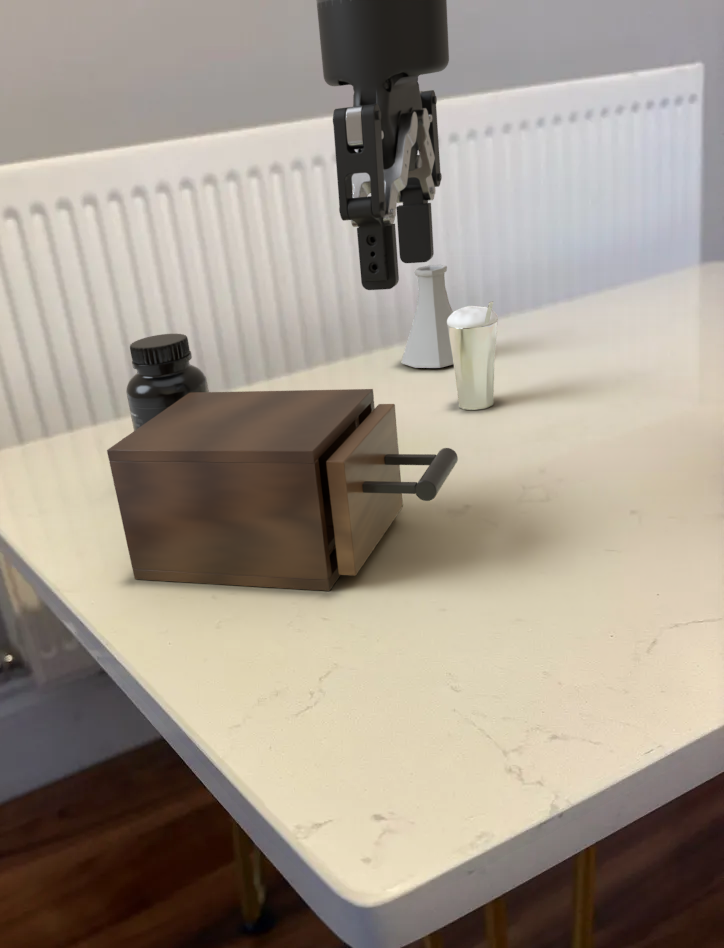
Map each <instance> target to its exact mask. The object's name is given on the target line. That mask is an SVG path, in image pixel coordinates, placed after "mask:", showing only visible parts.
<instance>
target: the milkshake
mask: <svg viewBox="0 0 724 948" xmlns="http://www.w3.org/2000/svg"><path fill="white" fill-rule="evenodd" d="M493 306H494V301H489V302H488V304H487V306H479V305H467V306H463V307H460V308H459V309H455V310H454V311H453V313H452V314H451V315H450V316H449V317H448V319H447V325H448V332H449V338H450V344H451V350H452V356H453V363H454V364H453V371H454V378H455V386H456V387H455V388H456V393H457V402H458V408H460V409H463V410H466V411H478V410H484V409H488V408H489V407H492V406H493V405H494V395H495V394H494V391H495V389H494V388H495V363H496V349H497V337H498V321H499V316H498V314H497V312H495V311H494V310H493Z"/></svg>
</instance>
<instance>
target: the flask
mask: <svg viewBox="0 0 724 948" xmlns="http://www.w3.org/2000/svg"><path fill="white" fill-rule="evenodd" d="M447 270H448V266H447V265H444V264H428V265H423V266H420V267H417V268H415V269H414V275H415V276H417V284H418V285H417V286H418V287H417V288H418V291H417V298H416V299H417V300H416V308H415V311H414V315H413V320H412V323H411V327H410V331H409V334H408V337H407V341H406V344H405V348H404V351H403V354H402V358H401V362H400V364H403V365H406V366H409V367H411V368H415V369H418V368H421V369H422V368H423V369H425V368H426V369H441V368H444V367H448V366H449V367H450V366H453V365H454V363H453V356H452V350H451V344H450V338H449V332H448V325H447V319H448V317H449V316H450V315H451V314H452V313H453V312H454V311H453V309H452V306H451V304H450V301H449V296H448V291H447V288H446V279H445V273H446V272H447Z"/></svg>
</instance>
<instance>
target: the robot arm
mask: <svg viewBox="0 0 724 948" xmlns="http://www.w3.org/2000/svg"><path fill="white" fill-rule="evenodd" d="M447 5H448V4H447V0H316V9H317V11H316V12H317V21H318V31H319V40H320V41H319V42H320V43H319V44H320V54H321V63H322V64H321V65H322V74H323V80H324V82H325V84H327V85H328V86H330V87H341V86H348V85H350V86H352V89H353V95H352V96H353V97H352V100H353V101H352V106H349V107H339V108H335V109H334V110H333V115H332V125H333V136H334V137H333V139H334V151H335V165H336V178H337V193H338V194H337V195H338V212H339V215H340V219H341V220H342V221H350V222H351V226H352V227H353V228H356V234H357V246H358V257H359V258H358V259H359V271H360V281H361V286H362V287H363V289H364V290H367V291H381V290H391V289H393V288H394V287H396V286H397V285H398V283H399V281H400V277H399V276H400V274H399V261H398V259H400V261H401V262H402V263H404V264H419V263H421V264H422V263H427V262H429V261H430V260H431V259H432V258H433V257H434V255H435V254H434V235H433V234H434V233H433V217H432V202H430V201H434V199H435V195H436V191H437V190H436V188H439V187H440V186H441V181H442V177H443V176H442V173H441V159H440V157H441V156H440V144H439V129H438V128H439V127H438V126H439V125H438V112H437V103H438V99H437V95H436V92H435V89H431V90H421V89H420V84H419V82H418V81H419V76H422V75H429V74H434V73H440V72H442V71H444V70H445V69H446V68H447V67H448V66H449V63H450V51H449V28H448V25H449V24H448V6H447ZM369 195H370V196H369ZM398 204H401V205H398ZM397 205H398V206H397ZM395 219H396V223H397V230H396V223H395ZM396 231H397V232H396ZM397 237H398V245H397ZM397 246H398V247H397ZM398 250H399V251H398ZM398 253H399V258H398Z"/></svg>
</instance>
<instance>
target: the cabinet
mask: <svg viewBox="0 0 724 948" xmlns="http://www.w3.org/2000/svg"><path fill="white" fill-rule="evenodd" d="M375 408H376V407H375V397H374V389H373V388H357V389H356V388H355V389H354V388H353V389H352V388H351V389H350V388H349V389H305V390H304V389H303V390H302V389H301V390H256V391H255V390H252V391H250V390H249V391H209V392H195V393H188V394H187V395H185V396H184V397H182V398H181V399H180V400H178V401H177V402H175V403H174V404H172V405H171V406H170V407H168V408H167V409H165V410H164V411H162V412H161V413H160V414H158V415H157V416H155V417H154V418H152V419H151V420H149V421H148V422H147V423H145V424H144V425H142V426H141V427H139V428H138V429H137V430H135V431H134V430H133V431H132V432H130V433H129V434H128V435H126V436H125V437H124V438H122V439H120V440H119V441H118V442H116V443H115V444H114V445H112V446H110V447H109V448H107V449H106V453H107V457H108V462H109V467H110V472H111V476H112V481H113V485H114V491H115V494H116V499H117V503H118V504H117V505H118V508H119V514H120V517H121V522H122V528H123V531H124V537H125V541H126V545H127V550H128V555H129V559H130V565H131V569H132V574H133V577H134V580H144V581H160V582H175V583H191V584H192V583H193V584H210V585H226V586H240V587H243V586H244V587H257V588H274V589H276V588H277V589H292V590H307V591H308V590H309V591H324V592H325V591H326V592H330V591H331V590H332V588H333V587H334V585H335V583H336V582H337V581H338V580H339V578H340V577H341V575H339V572H338V563H337V554H336V548H335V549H334V550H333V552H332V553H331V554H329V546H328V537H327V529H326V520H325V512H324V503H323V495H322V486H321V478H320V470H319V461H318V458H319V457H320V456H321V455H322V454H323V453H324V452H325V451H326V450H327V449H328V448H329V447H330V446H331V445H332V444H333V442H334V441H335V440H336V439H337V438H338V437H339V436H340V435H341V434H342V433H343V432H344V431H345V430H346V429H347V428H348V427H349V425H350V424H351V423H352V422H353V421H354V420H355V419H356V418H357V417H358V416H359V425H360V424H361V423H362V422H363V421H364V420H365V419H366V418H367V416H368V415H369V414H370V413H371V412H372V411H373V410H374V409H375Z"/></svg>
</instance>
